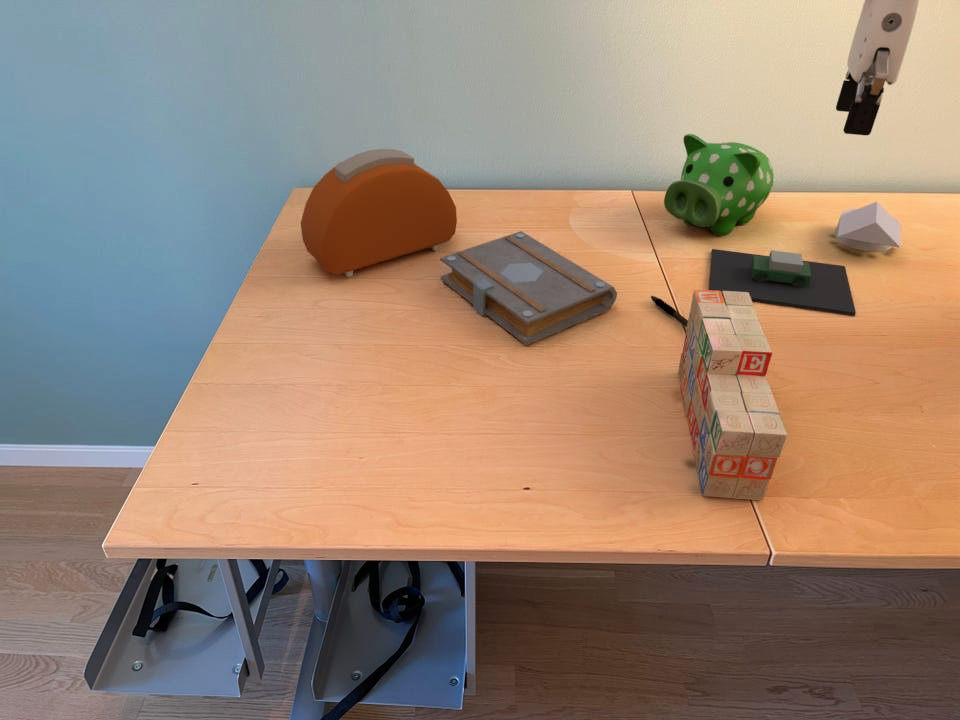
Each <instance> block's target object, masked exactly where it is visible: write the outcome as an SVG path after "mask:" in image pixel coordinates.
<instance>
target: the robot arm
mask: <svg viewBox="0 0 960 720" xmlns="http://www.w3.org/2000/svg"><path fill="white" fill-rule="evenodd" d="M919 1H920V0H864V1H863V5H862V9H861V12H860V14H859V18H858V21H857V24H856V27H855V31H854V34H853V38H852V41H851V45H850V48H849V52H848V57H847V62H846V63H847V68H848V69H847V71H846V73H845V79H843V81H842V85H841V88H840V92H839V94H838V98H837V102H836V105H835V110H836V111H837V112H847V117H846V120H845V123H844V125H843V126H844V127H843V133H844V134H846V135H856V136H857V135H858V136H869V135H871V133H872V131H873V127H874V124H875V122H876V118H877V115H878V112H879V109H880V107H881V103H882V100H883V95H884V92H885V83H886V84H887V85H888V86H892V85H895V83H896V82H897V81H898V78H899V76H900V73H901V72H900V71H901V69H902V65H903V63H904V59H905V55H906V52H907V48H908V45H909V43H910V38H911V35H912V30H913V28H914V23H915V20H916V16H917V12H918V6H919Z"/></svg>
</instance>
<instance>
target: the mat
mask: <svg viewBox="0 0 960 720" xmlns="http://www.w3.org/2000/svg"><path fill="white" fill-rule="evenodd" d="M753 255H755V256H763V257H769V255H763V254H756V253H747V252H740V251H734V250H724V249H718V248H712V249H711V255H710V265H709V266H710V268H709V279H708V280H709V281H708V290H712V291H721V292H722V291H734V292H748V293H749V295H750V297H751V300H752V302H753V303H763V304H768V305H776V306H783V307H790V308H797V309H802V310H810V311H817V312H825V313H831V314H837V315H845V316H852V317H855V316H856V313H857V312H856V308H855V304H854V298H853V296H852V295H853V294H852V291H851V286H850V281H849V277H848V273H847V270H846V266H845V265H840V264H834V263H827V262H817V261H810V260H803V262H809V267H810V272H811V278H810V282H809V285H804V286H803V287H800V288H796V287H794V286H793V285H792V283H786V282H778V281H771V280H767V281H766V282H764V283H759V282H757V281H756V280H755V278H751V262H752V258H753Z"/></svg>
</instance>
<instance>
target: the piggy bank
mask: <svg viewBox="0 0 960 720" xmlns="http://www.w3.org/2000/svg"><path fill="white" fill-rule="evenodd" d="M682 141H683V144H684V148H685V151H686V152H685V153H686V158H685V162H684V164H683V167H682V171H681V175H680V180H676V181H674V182H671V184H670V185H669V186H668V187H667V188H666V191H665V193H664V197H663V206H664V208H665V210H666V211H667V212H668V213H669V214H670V215H671V216H672V217H674V218H676V219H678V220H680V221H683V222H684V223H685V224H688V225H690V226H696V227H700V228H709V229H710V230H711V233H712V234H713V235H716V236H719V237H724V236H727V235H729V234H731V232H733V231H734V229H735V226H736V225H737V226H738V225H739V226H743V225H746V224H748V223H749V222H750V221H751V220H752V219H753V218H754V217H755V214H756V212H757V210H758V209H759V208H760V207H761V206H762V205H763V204H764V203H765V201H767V199H768V197H769V196H770V193H771V192H772V189H773V186H774V178H775V177H774V171H773V170H774V169H773V166H772V164H771V161H770V159H769V157H768V156H767V154H765V153H764V152H762V151H761V150H759V149H757V148H755V147H753V146H752V145H748V144H744V143H741V142H733V141H732V142H731V141H728V142H727V141H726V142H706V141H705V140H704V139H702V138H700V137H699V136H698V135H696V134H693V133H688V134H685V135H683V140H682Z"/></svg>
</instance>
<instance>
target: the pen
mask: <svg viewBox="0 0 960 720" xmlns="http://www.w3.org/2000/svg"><path fill="white" fill-rule="evenodd" d="M650 299H651V301H652V303H654V304H655V306H657V307H658V308H659V309H660V310H662V311H663V312H664V313H665V314H666V315H668V316H670V317H671V318H673V319H675V320H676V321H677V322H678V323H680V324H681V325H682V326H684V327H685V328H687V323H688V318H686V317H684V316H683V315H681V314H680V313H679V311H678V310H677V309H675V308H674V307H672V306H671V305H670V304H668V303H667V302H665V301H664V300H663V299H662V298H659V297H657V296H654V295H650Z"/></svg>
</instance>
